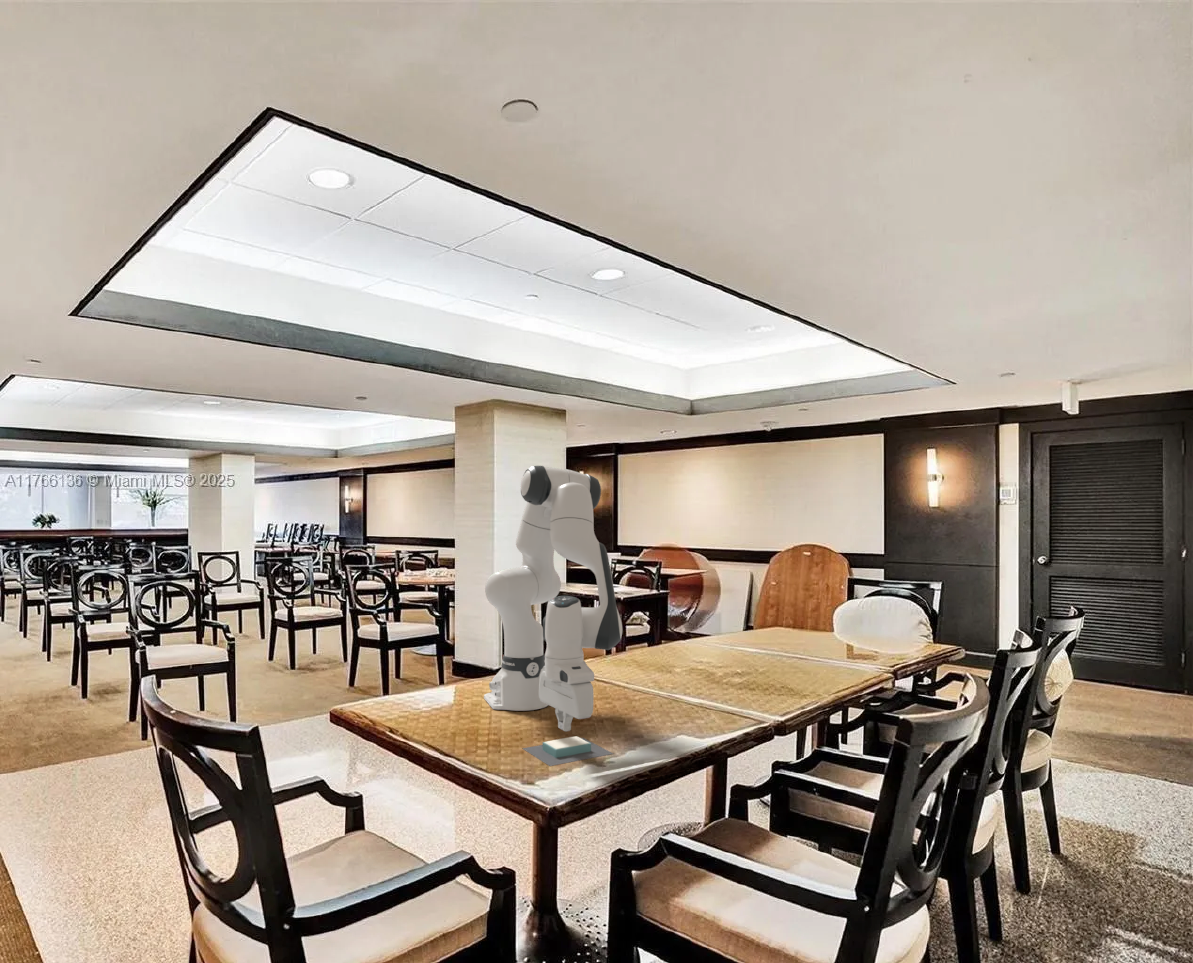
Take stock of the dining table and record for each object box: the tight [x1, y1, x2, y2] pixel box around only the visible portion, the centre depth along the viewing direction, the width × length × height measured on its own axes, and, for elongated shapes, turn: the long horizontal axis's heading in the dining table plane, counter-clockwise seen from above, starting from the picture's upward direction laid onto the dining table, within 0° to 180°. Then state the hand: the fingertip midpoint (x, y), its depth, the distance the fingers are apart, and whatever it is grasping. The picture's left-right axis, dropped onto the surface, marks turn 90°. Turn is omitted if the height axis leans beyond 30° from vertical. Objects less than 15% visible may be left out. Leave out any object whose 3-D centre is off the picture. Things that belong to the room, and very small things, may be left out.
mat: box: [522, 737, 614, 767], centre depth 172 cm, size 14×16×1 cm
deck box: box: [542, 735, 591, 758], centre depth 172 cm, size 2×9×6 cm
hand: (564, 729), depth 173 cm, fingers closed
